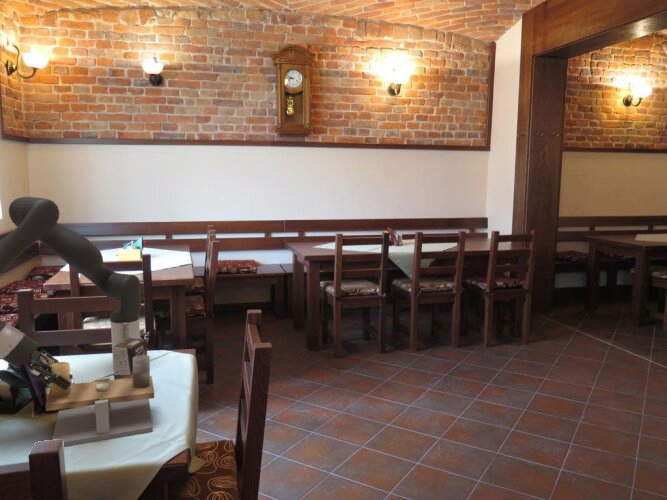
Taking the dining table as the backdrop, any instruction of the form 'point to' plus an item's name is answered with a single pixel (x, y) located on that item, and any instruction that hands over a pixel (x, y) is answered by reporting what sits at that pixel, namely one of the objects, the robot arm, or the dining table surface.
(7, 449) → the dining table surface
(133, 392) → the plate
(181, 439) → the dining table surface
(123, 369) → the coffee box
